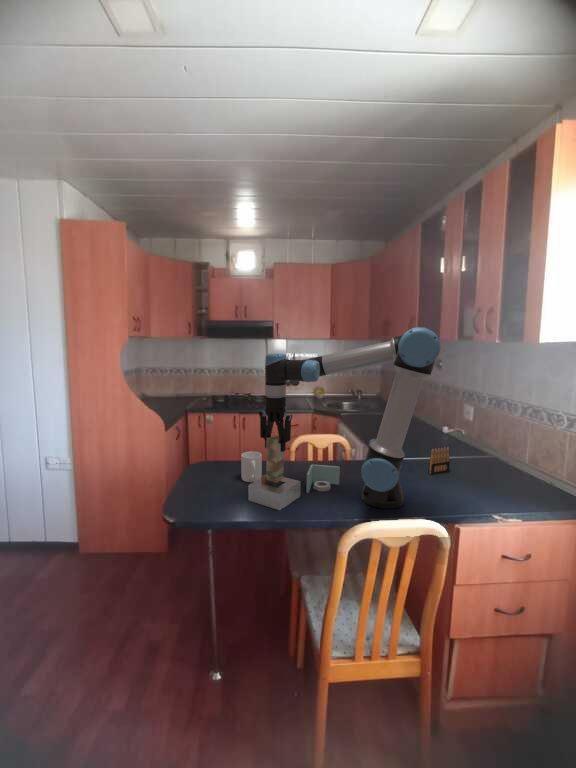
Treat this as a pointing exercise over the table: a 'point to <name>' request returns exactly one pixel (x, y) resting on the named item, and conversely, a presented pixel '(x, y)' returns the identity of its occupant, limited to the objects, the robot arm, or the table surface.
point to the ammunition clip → (439, 461)
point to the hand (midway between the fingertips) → (275, 458)
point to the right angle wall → (322, 477)
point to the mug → (251, 466)
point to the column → (273, 460)
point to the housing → (274, 492)
